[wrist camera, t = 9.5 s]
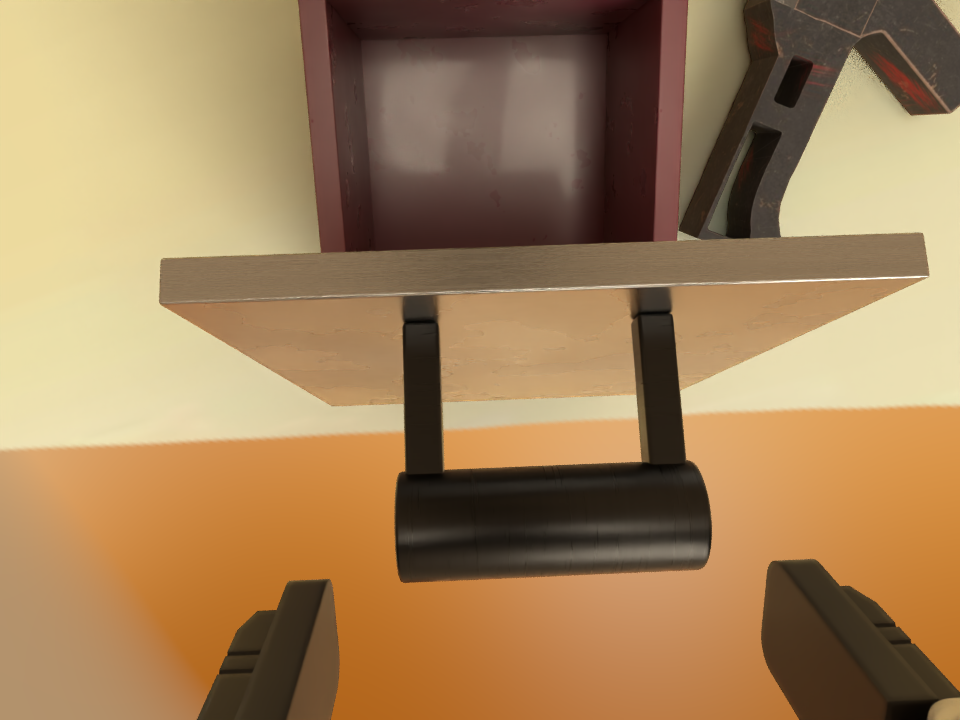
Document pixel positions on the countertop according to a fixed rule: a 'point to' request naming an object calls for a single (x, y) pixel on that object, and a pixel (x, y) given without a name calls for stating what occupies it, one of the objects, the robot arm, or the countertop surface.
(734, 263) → the lid
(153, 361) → the countertop surface
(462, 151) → the open wooden cubby
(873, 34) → the toy gun
